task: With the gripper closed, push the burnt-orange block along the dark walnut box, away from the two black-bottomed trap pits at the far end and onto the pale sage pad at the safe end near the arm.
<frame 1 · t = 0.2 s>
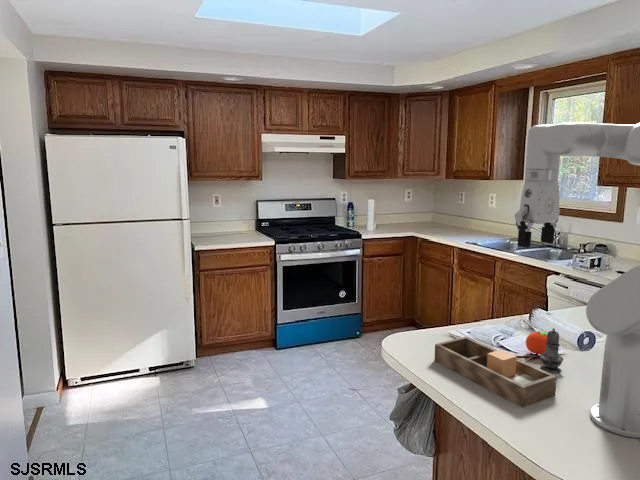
hand: (535, 244, 120), 36 cm above the countertop, tool pointing down, fingers open, 9 cm apart
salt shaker: (550, 370, 131), on the countertop
block: (501, 372, 124), point 2 cm above the countertop, touching trap box
trap box: (489, 376, 127), on the countertop
clementine: (539, 355, 141), on the countertop
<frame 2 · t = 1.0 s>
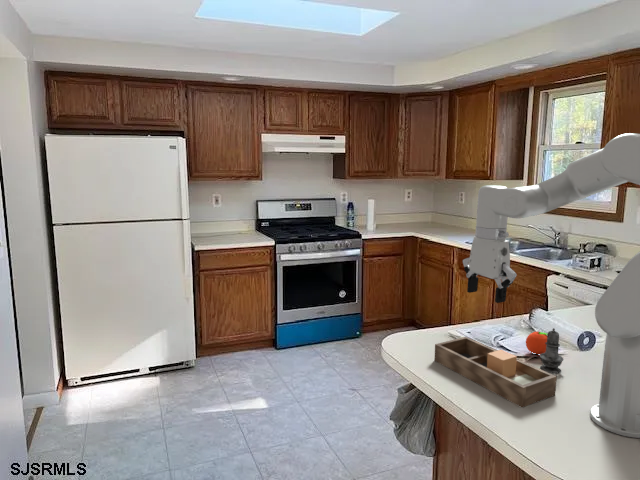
hand: (485, 296, 126), 21 cm above the countertop, tool pointing down, fingers open, 9 cm apart
nothing on the countertop moved.
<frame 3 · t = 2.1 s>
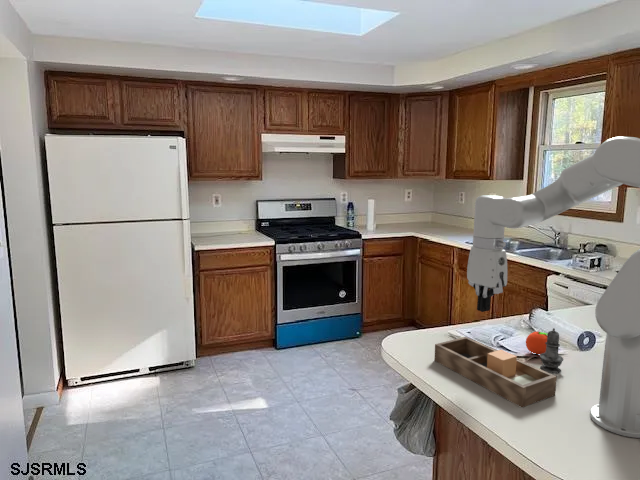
hand: (483, 310, 127), 18 cm above the countertop, tool pointing down, fingers closed
nothing on the countertop moved.
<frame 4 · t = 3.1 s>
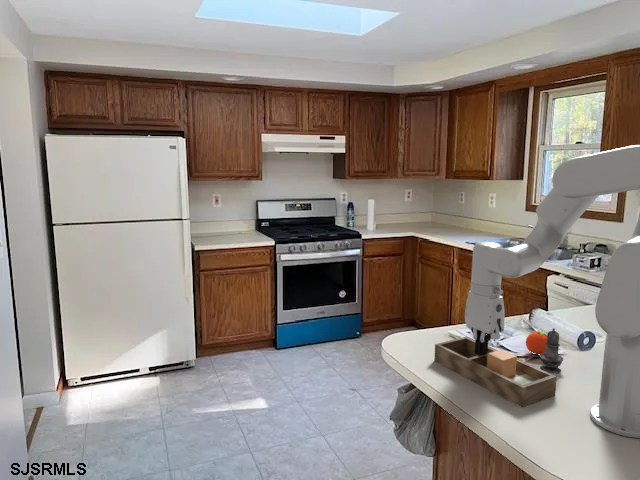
hand: (480, 353, 129), 5 cm above the countertop, tool pointing down, fingers closed
nothing on the countertop moved.
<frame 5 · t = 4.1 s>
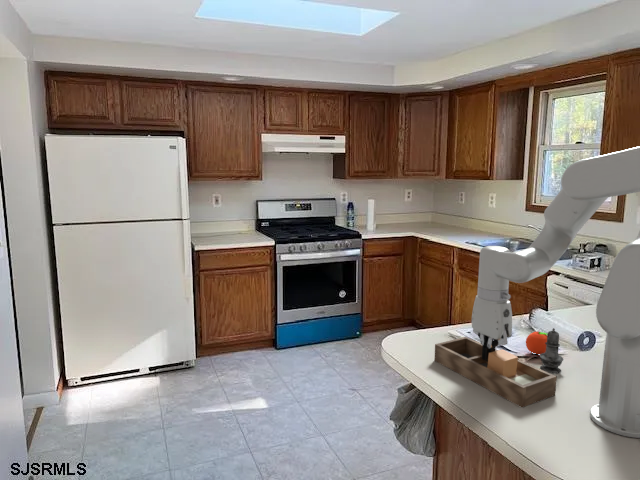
hand: (488, 359, 127), 5 cm above the countertop, tool pointing down, fingers closed
block: (501, 372, 123), point 3 cm above the countertop, touching gripper, trap box
everything else where it was.
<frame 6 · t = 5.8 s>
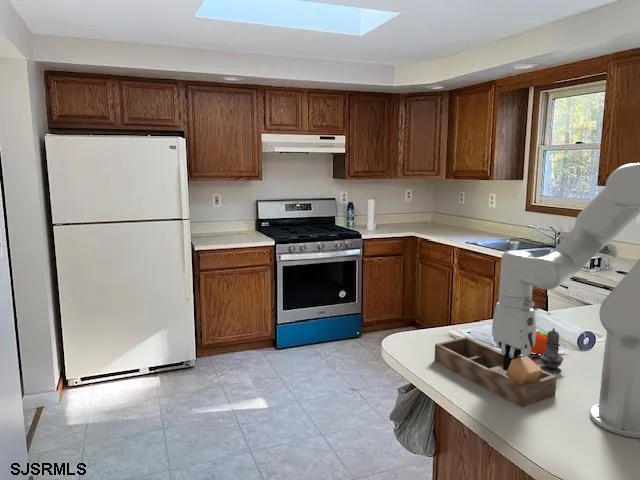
hand: (509, 369, 121), 5 cm above the countertop, tool pointing down, fingers closed
block: (520, 379, 118), point 3 cm above the countertop, tilted 20°, touching gripper, trap box
everything else where it was.
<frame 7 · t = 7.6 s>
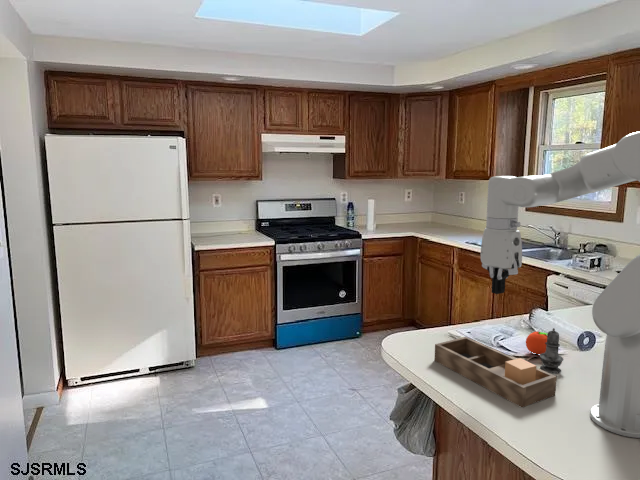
hand: (498, 292, 126), 23 cm above the countertop, tool pointing down, fingers closed
block: (519, 382, 118), point 2 cm above the countertop, touching trap box
everything else where it was.
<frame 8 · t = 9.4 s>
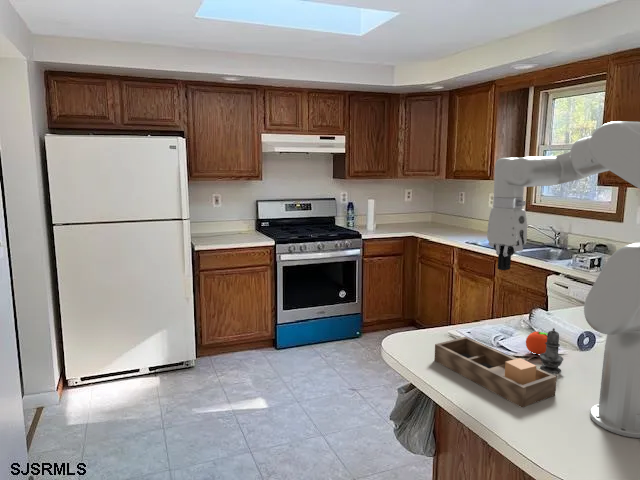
hand: (503, 269, 132), 27 cm above the countertop, tool pointing down, fingers closed
nothing on the countertop moved.
at the end: block inside the target area (0.8 cm from its centre), point 2.5 cm above the countertop; block tilted 0° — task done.
